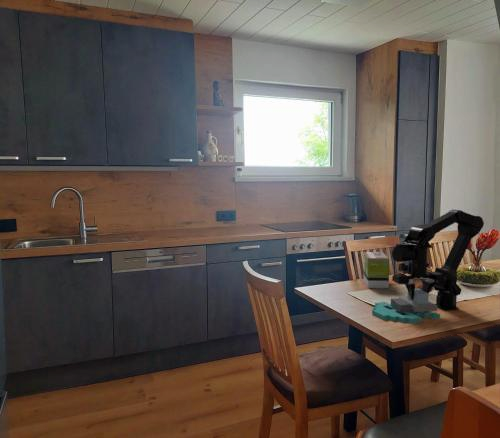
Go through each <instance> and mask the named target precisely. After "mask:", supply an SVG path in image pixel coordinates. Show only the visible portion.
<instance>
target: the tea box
mask: <svg viewBox="0 0 500 438" xmlns="http://www.w3.org/2000/svg"><path fill="white" fill-rule="evenodd" d="M363 281H364V283H365V285H366V287H367V289H389V288H390V258H389V257H388V256H387V255H386V253H384V252H383V251H375V252H374V251H363Z"/></svg>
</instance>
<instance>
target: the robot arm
mask: <svg viewBox="0 0 500 438" xmlns="http://www.w3.org/2000/svg"><path fill="white" fill-rule="evenodd" d="M484 222H485V221H484V220H483V218H482V217H481V215H472V214H470V213H468V212H465V211H463V210H461V209H460V210H459V209H451V210H449V211H448V212H446V213H445V214H443V215H440V216H439V217H437V218H435V219H433V220H432V221H430V222H428V223H423V224H418V225H414V226H412V227H410V229H409V231H408V234H407V235H406V236H405V238H404V240H403V241H402V243H395V247H394V248H393V249H392V251H391V256H392V259H393V260H394V261H395V262H396V263H398V271H399V273H393V274H392V276H391V277H392V279H391V280H392V281H393V282H394V283H396V284H398V285H404V286H405V288H406V290H407V294H408V293H409V296H410V299H411V300H413V298H414V291H415V289H416V284H415V283H414V281H421V283H422V288H421V290H423V291H425V292H427V293H430V292H431V290H432V288H433V289H434V291H437V293H436V294H437V295H436V299H435V304H436V305H438V308H439V309H441V310H443V311H451V310H453V311H455V310H460V307H457V297H458V296H459V295H461V293H462V288H461V287H460V286H459V285H458V273H457V272H458V271H457V270H458V269H459V267H460V264H461V262H462V260H463V258H464V255H465V254H466V251H467V249H468V247H469V245H470V243H471V241H472V239H473V238H474V237H476V236H477V235H479V233H480V232H481V231H482V229H483V227H484V224H485V223H484ZM455 223H456V224H457V227H456V228H457V236H456V238H455V240H454V243H453V244H452V247H451V249H450V251H449V253H448V255H447V257H446V259H445V262H444V264H443V266H441V267H436V268H435V269H434V271H428V269H427V268H428V267H430V263H428V249H433V245H432V244H431V243H429V242H430V241H432V240H433V239H434V238H435V236H436V234H438V233H439V232H441V231H444V230H445V229H446V228H449V227H450V226H452V225H454V224H455ZM404 262H408V264H406V263H404Z"/></svg>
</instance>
